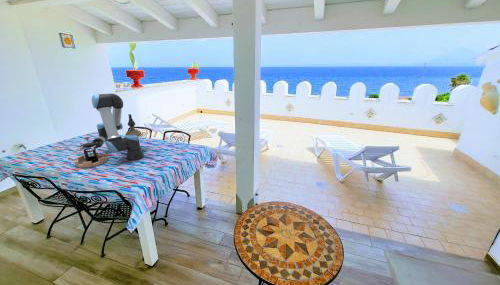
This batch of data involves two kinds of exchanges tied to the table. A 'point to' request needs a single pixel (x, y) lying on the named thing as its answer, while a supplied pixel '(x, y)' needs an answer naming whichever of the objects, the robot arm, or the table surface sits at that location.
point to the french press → (90, 156)
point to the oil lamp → (132, 128)
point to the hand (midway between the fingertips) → (85, 149)
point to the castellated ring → (83, 164)
